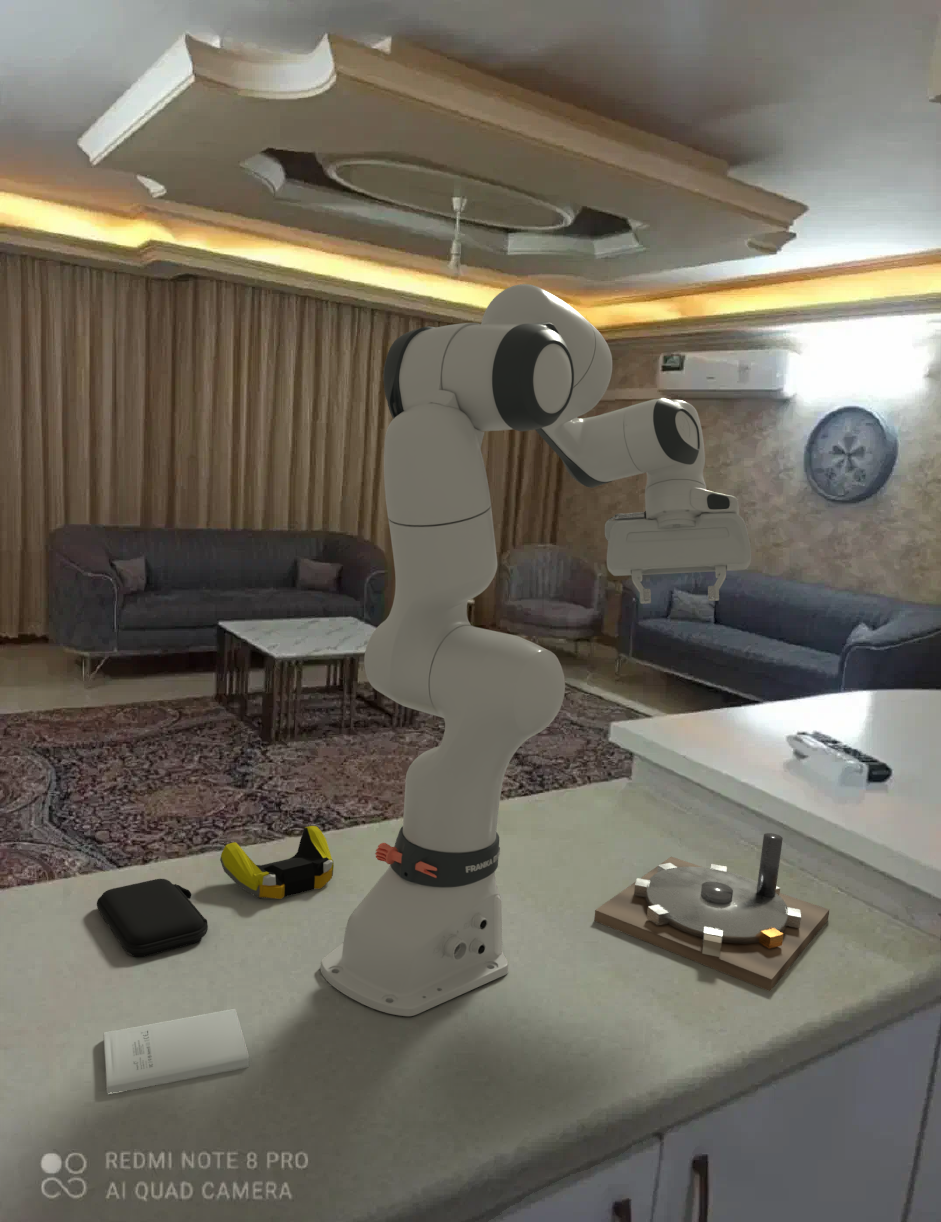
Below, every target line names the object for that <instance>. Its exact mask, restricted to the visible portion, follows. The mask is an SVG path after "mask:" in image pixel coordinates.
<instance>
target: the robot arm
mask: <svg viewBox="0 0 941 1222" xmlns="http://www.w3.org/2000/svg"><path fill="white" fill-rule="evenodd" d="M481 318H482V320H481V323H478V322H466V323H465V322H463V323H455V324H448V325H441V326H437V327H434V326H423V327H419V328H415V329H413V330H410V331H407V332H405V333H403V334H401V335H400V336H399V337H397V338H396V339H395V340H394V341H393V342H392V344H391V346H390V348H389V350H388V352H387V356H386V357H385V361H384V367H383V373H382V374H383V375H382V376H383V387H384V388H383V389H384V395H385V398H386V402H387V403H386V404H387V407H388V410H389V412H390V416H391V417H392V420H391V421H390V422H389V424H388V426H387V428H386V432H385V434H384V435H385V436H384V447H383V448H384V449H383V481H384V484H383V485H384V496H385V504H386V512H387V520H388V526H389V532H390V533H389V534H390V540H391V548H392V555H393V556H392V557H393V566H394V574H395V590H394V598H393V603H392V606H391V608H390V611H389V615H388V616H387V618H386V619H385V620H384V621H382V622H381V623H380V624H379V625H378V626H377V627H376V628H375V629H374V631H373V632H372V633H371V635H370V637H369V639H368V642H367V644H366V646H365V647H366V648H365V651H364V656H363V657H364V660H363V661H364V663H363V664H364V671H365V676H366V679H367V681H368V682H369V684H370V685H371V687H372V688H373V689H374V690H375V691H377V692H379V693H380V694H382V695H384V697H387V698H388V699H390V701H391V700H392V701H393V702H395V703H396V704H399V705H400V706H402V707H405V708H409V709H411V710H416V711H418V712H422V713H425V714H429V715H431V716H435V717H438V718H443V720H444V721H443V722H444V732H443V735H442V736H443V737H442V739H441V743H440V745H438V746H436V747H433V748H431V749H428V750H425V751H423V753H421V754H419V755H418V756H417V757H416V758H415V759H414V760H413V762H411V764H410V765H409V767H408V768H407V771H406V775H405V785H404V800H403V801H404V805H403V816H402V818H403V819H402V826H400V829H399V832H398V833H397V837H396V839H395V842H394V846H391V845H390V844H388V843H387V842H381V843H379V844H378V846H377V848H376V849H375V853H374V855H375V859H376V860H378V861H380V862H385V863H386V864H387V865H389V866H388V868H387V869H386V871H385V872H384V873H383V874H382V876H380V878H379V879H378V880H377V882H376V883H374V885H373V887H371V889H370V891H368V893H367V894H366V895H365V897H364V898H363V899H362V900H361V901H360V903H359V904H358V905H357V907H356V908H355V909H354V910H353V911H352V913H351V914H350V915H349V917H348V919H347V923H346V927H345V931H344V935H343V937H344V938H343V942H341V943H340V944H339V945H337V946H336V948H334V949H332V951H330V952H329V953H328V954H326V955H325V956H324V957H323V958H322V959H321V961H320V966H319V970H320V973H321V974H322V976H323V978H324V979H325V980H326V981H327V982H328V983H329V984H330V985H331V986H332V987H333V988H335V989H336V990H338V991H339V992H341V994H343V995H345V996H347V997H348V998H350V999H352V1000H354V1001H356V1002H358V1003H359V1004H362V1005H364V1006H367V1007H369V1008H371V1009H374V1010H376V1011H380V1012H381V1013H382V1012H383V1013H386V1014H390V1015H394V1016H395V1015H396V1016H401V1017H402V1016H403V1017H412V1016H416V1015H419V1014H421V1013H423V1012H425V1011H427V1010H430V1009H432V1008H435V1007H436V1006H438V1005H441V1004H443V1003H445V1002H448V1001H450V1000H453V999H454V998H456V997H459V996H461V995H463V994H466V993H468V992H470V991H471V990H474V989H476V988H478V987H481V986H483V985H485V984H488V983H490V982H492V981H495V980H497V979H499V978H501V977H503V976H506V975H507V974H508V973H509V961H508V958H507V957H506V956H505V954H504V952H503V914H502V913H503V912H502V898H501V895H500V892H499V888H498V884H497V880H496V871H497V868H498V867H499V857H500V854H501V853H500V852H501V847H500V836H499V833H498V822H499V821H498V819H499V810H500V801H501V795H502V790H503V789H502V788H503V783H504V777H505V774H506V771H507V768H508V766H509V763H510V762H511V760H512V759H513V756H514V755H515V753H516V752H517V751H518V749H519V748H520V747H521V746H522V745H523V744H524V743H525V742H526V741H527V740H529V739H530V738H533V736H535V735H537V734H539V733H541V732H543V731H544V730H545V729H546V728H548V726H549V725H550V724H551V723H553V721H554V720H555V719H556V717H557V715H558V714H559V712H560V710H561V707H562V705H563V701H564V699H565V691H566V681H565V673H564V670H563V667H562V665H561V663H560V660H559V658H558V657H557V655H556V654H555V653H554V652H552V651H551V650H549V649H546V648H544V647H543V646H541V645H540V644H537V643H535V642H533V641H530V640H528V639H526V638H523V637H521V636H519V635H515V634H510V633H505V632H502V631H495V630H491V629H486V628H483V627H478V626H475V625H471V623H470V621H469V617H468V613H467V611H468V610H467V608H468V601H471V600H473V599H475V598H476V597H477V596H479V595H481V594H482V593H483V592H484V591H485V590H486V589H488V587H490V585H491V582H492V581H493V579H494V578H495V576H496V573H497V570H498V557H497V556H498V555H497V548H496V538H495V529H494V528H495V527H494V519H493V512H492V511H493V509H492V500H491V494H490V487H489V483H488V482H489V480H488V476H487V471H486V466H485V462H484V458H483V454H482V449H481V448H482V445H483V444H482V443H483V439H484V436H485V432H495V431H496V432H498V431H509V430H514V431H516V432H527V431H533V430H535V431H536V433H537V434H538V435H539V436H540V437H541V438H542V439H543V440H544V442H545V443H547V445H548V446H549V447H550V448H551V449H552V450H553V451H554V453H555V454H556V455H557V456H558V457H559V458H560V460H561V461H562V463H563V465H564V467H565V470H567V473H568V474H569V476H571V478H573V479H574V480H575V481H576V482H578V483H579V484H580V485H583V486H584V487H586V488H589V489H591V488H592V489H593V488H597V487H599V486H602V485H605V484H608V483H611V482H613V481H617V480H621V479H626V478H629V477H633V476H638V475H642V474H645V473H646V477H647V478H646V479H647V480H646V484H645V490H644V506H645V507H644V508H645V511H640V512H639V511H638V512H629V513H622V512H621V513H616V514H614V516H612V517H610V518H608V519H607V520H606V522H605V524H604V537H605V539H606V541H607V548H606V549H607V551H606V567H607V570H608V572H609V573H610V574H611V576H612V575H613V576H614V577H618V576H619V577H621V576H622V577H623V576H625V577H626V576H631V580H632V584H633V585H634V586H635V588H636V589H637V591H638V592H639V601H640V602H639V603H640V604H645V605H646V604H652V598H651V596H652V592H651V588H645V587H644V586H643V584H642V583H641V582H642V581H643V575H645V576H646V575H663V574H666V575H667V574H685V573H705V572H706V573H709V572H715V578H716V581H715V583H714V585H708V586H707V596H708V597H707V598H708V602H712V601H713V602H715V601H720V589H721V587H722V585H723V583H724V582H725V580H726V577H727V571H744V570H747V569H748V568H749V566H750V565H751V563H752V547H751V541H750V536H749V535H750V534H749V531H748V528H747V527H748V526H747V523H746V522H745V520H744V518H743V517H742V516H741V515H740V503H739V500H738V498H737V497H736V496H733V495H729V494H724V493H720V492H716V491H715V492H714V491H712V490H707V484H706V482H705V478H704V469H705V465H706V453H705V451H706V450H705V444H704V443H705V441H704V434H703V429H702V425H701V419H700V416H699V413H698V411H697V409H696V408H695V406H693V404H691V403H689V402H686V401H684V400H681V399H668V398H665V397H661V398H654V399H650V400H647V401H646V400H645V401H641V402H639V403H636V404H632V405H629V406H625V407H623V408H619V409H616V410H612V411H608V412H605V413H602V414H599V415H596V416H589V417H585V418H584V417H583V418H581V416H584V415H585V414H587V413H588V412H590V411H591V410H593V409H594V408H595V407H596V406H597V405H598V404H599V402H600V401H601V400H602V398H603V396H604V395H605V393H606V391H607V390H608V388H609V386H610V381H611V378H612V372H613V355H612V352H611V350H610V346H609V344H608V343H607V341H606V340H605V338H604V336H603V334H602V333H601V332H600V331H599V330H598V329H597V328H596V327H595V326H594V325H593V324H592V323H591V322H590V321H589V320H588V319H586V317H584V316H583V315H582V314H581V313H580V312H578V310H576V309H575V308H574V307H572V306H571V305H570V304H568V303H567V302H566V301H564V300H563V299H561V298H559V297H558V296H556V295H554V294H552V293H551V292H549V291H547V290H545V289H544V288H541V287H540V286H537V285H533V284H528V283H523V284H516V285H515V284H514V285H512V286H509V287H507V288H505V289H503V290H502V291H501V292H499V293H498V294H497V295H495V297H494V298H493V299H492V300H491V301H490V302H489V303H488V305H487V307H486V309H485V311H484V314H483V315H482V317H481ZM579 417H580V418H579Z"/></svg>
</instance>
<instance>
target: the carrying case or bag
mask: <svg viewBox="0 0 941 1222" xmlns="http://www.w3.org/2000/svg"><path fill="white" fill-rule="evenodd" d="M191 897H192V893H191V891H190V890H189V889H187V888H184V887H183V886H181V885H180V884H177V883H175V884H174V883H172V882H171V881H170V880H169V879H166V878H155V879H152V880H147V881H143V882H137V883H132V884H128V885H124V886H119V887H113V888H110V889H107V890H105V891H103V893H102V894H101V895H100V896H99V897H98V899H97V901H96V908H97V910H98V911H99V914H100V915H101V917H102V918H103V919H104V921H105V922H106V924H107V925H108V927H109V929H110V930H111V932H112V933H113V934H114V936H115V938H116V939H117V941H118V942H119V944H120V945H121V947H122V948H123V949H124V950H125V951H126V953H128V954H129V955H130V956H132V957H133V958H145V957H148V956H149V957H150V956H153V955H155V954H159V953H163V952H167V951H171V950H175V949H178V948H182V947H185V946H190V945H193V944H196V943H197V942H199V941H201V940H202V938H203V937H204V936H205V935H207V932H208V931H209V930H208V929H209V924H208V920H207V919H206V918H205V917H204V915H203V914H202V913H201V912H200V910H198V908H197V907H196V906H195V905H194V904H193V903H192V901H191V900H190V899H191Z"/></svg>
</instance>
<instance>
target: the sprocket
mask: <svg viewBox="0 0 941 1222" xmlns="http://www.w3.org/2000/svg"><path fill="white" fill-rule="evenodd" d="M783 839H784V838H783V836H781V835H779V834H776V833H772V832H766V833H763V838H762V847H761V854H760V859H759V860H760V861H759V868H758V869H759V870H758V876H757V880H754V879H752V878H750V877H747V876H744V875H741V874H738V873H735V872H732V871H727V869H728V866H726V865H725V866H724V865H720V864H719V865H718V864H714V863H711V864H710V867H705V866H704V867H703V866H701V867H676V866H675V865H673V864H671V863H666V864H661V863H660V864H661V865H660V864H658V865H657V866H658V871H657V873H656V874H655V875H653V876H652V877H651V878H650V879H649V880H645V879H640V878H641V877H639V878H638V877H637V878H636V880H635V882H636V883H635V890H634V895H635V896H640V897H645V898H646V901H647V904H648V911H647V918H648V919H649V920H651V921H652V922H653V923H655V924H656V925H658V926H659V925H664V924H669V925H671V926H673V927H675V928H677V929H679V930H681V931H684V932H686V933H689V934H692V935H695V936H698V937H701V938H703V942H704V934H707V935H712V936H717V937H722V939H721V945H722V942H727V943H742V944H746V943H758V942H759V943H761V944H762V945H764V946H765V947H767V948H768V949H770V948H774V947H778V946H782V941H783V932H784V930H785V929H786V926H790V927H795V928H800V921H801V913H800V910H799V909H794V908H789V907H787V905H786V903H785V902H784V900H783V899H782V898H781V897H780V896H779V894H780V893H781V887H779V886H777V883H778V877H779V870H780V869H779V868H780V862H781V853H782V848H783V847H782V846H783V841H784V840H783ZM702 944H703V943H702Z"/></svg>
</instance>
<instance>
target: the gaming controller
mask: <svg viewBox="0 0 941 1222" xmlns="http://www.w3.org/2000/svg"><path fill="white" fill-rule="evenodd" d="M219 860H220V864H221V866H222V868H223V872H224V873H225V875H227V876H228V878H230V879H231V880H232V881H233V882H234V883H235V884H236V885H237V886H238V887H240V888H242V890H244V891H246V892H247V893H249V894H251V895H253V897H255V898H258V899H272V900H276V899H277V900H282V899H283V898H286V897H292V896H294V895H299V894H302V893H306V892H310V891H313V890H316V889H317V890H320V889H322V888H323V887H324V886H325V885H327V884H328V882H330V881H331V880H332V879H333V875H334V860H333V858H332V855H331V851H330V848H329V844H328V841H327V838H326V837H325V834H324V833H323V832H322V830H321V829H320V828H319V827H318V826H316V825H309V826H305V827H304V829H303V832H302V834H301V838H300V841H299V844H298V849H297V851H296V853H295V854H294V855H292V856H291V857H290V858H286V859H282V860H279V861H274V862H270V863H265V864H256V863H255V862H254V861H253V860H252V859H251V858H250V857H249V856H248V855H247V853H246V852H245V851H244V849H243V847H241V846H240V844H238V843H237V842H236V841H234V842H231V843H227V844H225V846H224V848H223V850H222V851H221V854H220V859H219Z"/></svg>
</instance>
